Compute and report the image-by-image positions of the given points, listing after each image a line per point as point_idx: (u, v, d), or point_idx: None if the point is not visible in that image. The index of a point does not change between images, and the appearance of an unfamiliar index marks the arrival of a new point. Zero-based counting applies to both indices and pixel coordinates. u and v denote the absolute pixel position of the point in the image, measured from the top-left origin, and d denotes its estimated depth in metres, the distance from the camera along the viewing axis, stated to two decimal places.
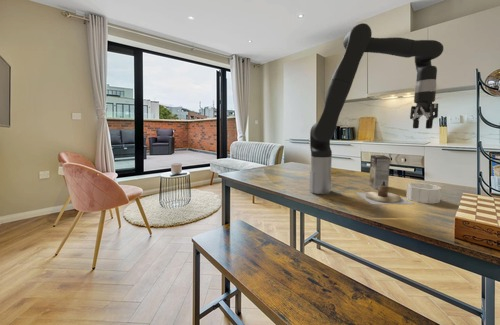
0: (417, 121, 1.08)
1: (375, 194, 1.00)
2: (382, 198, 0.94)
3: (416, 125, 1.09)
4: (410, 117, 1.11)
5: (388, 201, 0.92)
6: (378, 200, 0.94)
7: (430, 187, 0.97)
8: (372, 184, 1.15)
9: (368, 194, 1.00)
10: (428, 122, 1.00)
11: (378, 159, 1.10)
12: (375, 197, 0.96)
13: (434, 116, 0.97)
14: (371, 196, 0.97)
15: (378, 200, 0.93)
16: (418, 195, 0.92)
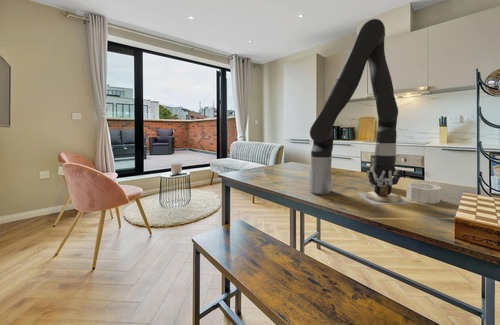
0: None
1: (375, 194, 1.00)
2: (382, 198, 0.94)
3: None
4: (374, 183, 0.96)
5: (388, 201, 0.92)
6: (378, 200, 0.94)
7: (430, 187, 0.97)
8: (372, 184, 1.15)
9: (368, 194, 1.00)
10: (390, 188, 0.97)
11: None
12: (375, 197, 0.96)
13: None
14: (371, 196, 0.97)
15: (379, 200, 0.93)
16: (418, 195, 0.92)
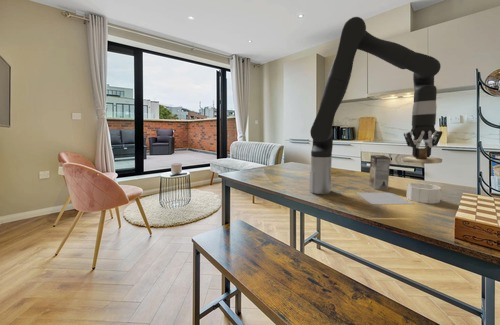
0: None
1: (412, 158, 0.95)
2: (422, 160, 0.89)
3: None
4: (413, 145, 0.91)
5: (430, 162, 0.87)
6: (418, 161, 0.88)
7: (430, 187, 0.97)
8: (372, 184, 1.15)
9: (405, 158, 0.95)
10: (430, 150, 0.92)
11: (378, 159, 1.10)
12: (414, 159, 0.91)
13: None
14: (409, 159, 0.92)
15: (419, 161, 0.88)
16: (418, 195, 0.92)
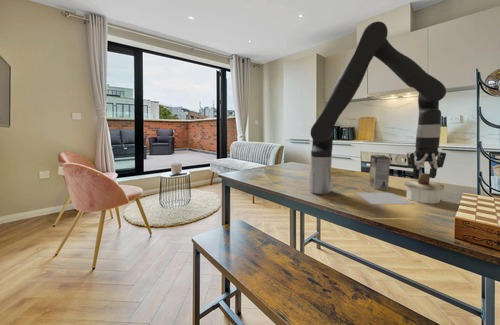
0: None
1: (415, 182, 0.97)
2: (425, 186, 0.91)
3: None
4: (413, 166, 0.92)
5: (432, 188, 0.88)
6: (421, 188, 0.90)
7: None
8: (372, 184, 1.15)
9: (407, 182, 0.97)
10: (435, 171, 0.93)
11: (378, 159, 1.10)
12: (417, 185, 0.92)
13: None
14: (412, 184, 0.94)
15: (422, 187, 0.90)
16: (418, 195, 0.92)
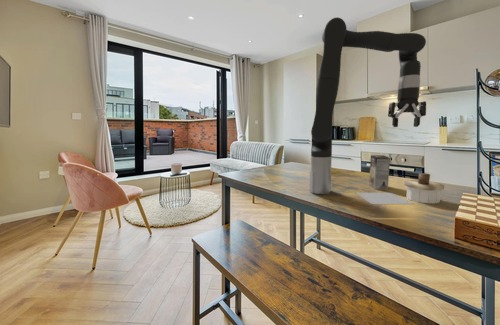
0: None
1: (415, 182, 0.97)
2: (425, 186, 0.91)
3: None
4: (392, 114, 0.98)
5: (432, 188, 0.88)
6: (421, 188, 0.90)
7: None
8: (372, 184, 1.15)
9: (407, 182, 0.97)
10: (419, 120, 0.98)
11: (378, 159, 1.10)
12: (417, 185, 0.92)
13: None
14: (412, 184, 0.94)
15: (422, 187, 0.90)
16: (418, 195, 0.92)
